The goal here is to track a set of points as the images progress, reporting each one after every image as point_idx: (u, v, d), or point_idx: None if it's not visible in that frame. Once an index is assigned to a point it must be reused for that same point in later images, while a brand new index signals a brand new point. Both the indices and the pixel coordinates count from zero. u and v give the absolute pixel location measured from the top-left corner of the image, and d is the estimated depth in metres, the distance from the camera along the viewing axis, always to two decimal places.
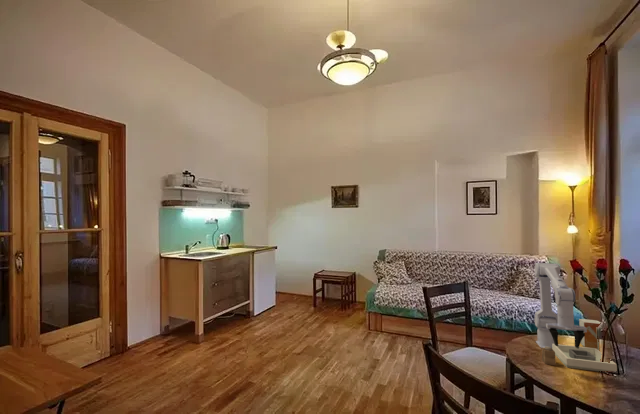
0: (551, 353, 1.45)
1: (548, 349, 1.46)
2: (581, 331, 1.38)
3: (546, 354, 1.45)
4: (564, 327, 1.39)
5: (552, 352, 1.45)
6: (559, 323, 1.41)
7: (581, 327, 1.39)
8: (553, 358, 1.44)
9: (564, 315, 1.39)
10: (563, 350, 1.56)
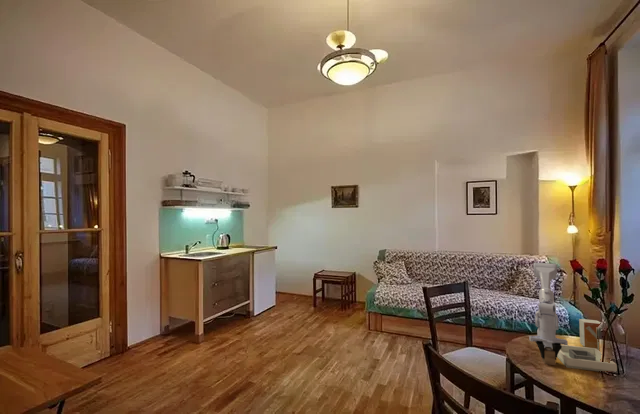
0: (551, 353, 1.45)
1: (548, 349, 1.46)
2: None
3: (546, 354, 1.45)
4: (546, 340, 1.45)
5: (552, 352, 1.45)
6: (541, 336, 1.47)
7: (562, 340, 1.45)
8: (553, 358, 1.44)
9: (544, 328, 1.46)
10: (563, 350, 1.56)
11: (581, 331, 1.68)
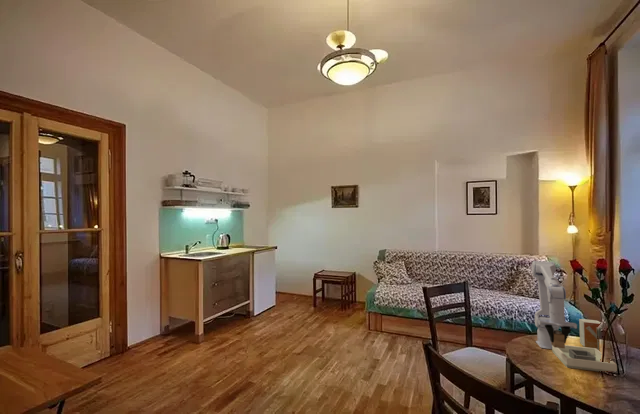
0: (560, 336, 1.45)
1: (557, 332, 1.46)
2: (572, 327, 1.45)
3: (555, 337, 1.46)
4: (555, 323, 1.46)
5: (561, 335, 1.45)
6: (551, 320, 1.48)
7: (572, 323, 1.46)
8: (562, 341, 1.45)
9: (555, 312, 1.46)
10: (563, 350, 1.56)
11: (581, 331, 1.68)
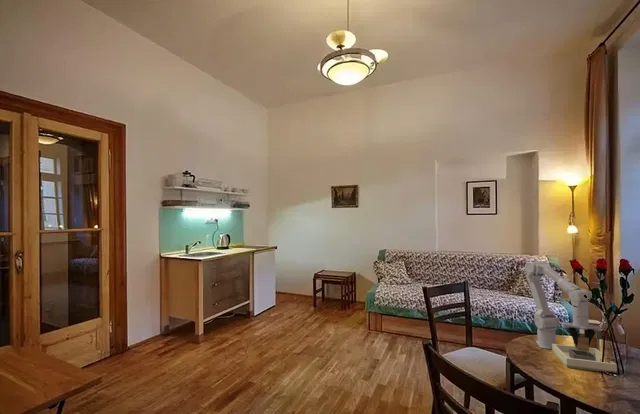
0: (584, 339, 1.46)
1: (581, 335, 1.47)
2: (596, 330, 1.45)
3: (579, 340, 1.46)
4: (579, 326, 1.46)
5: (585, 338, 1.46)
6: (574, 322, 1.48)
7: (595, 326, 1.46)
8: (587, 344, 1.45)
9: (583, 315, 1.46)
10: (563, 350, 1.56)
11: (581, 331, 1.68)
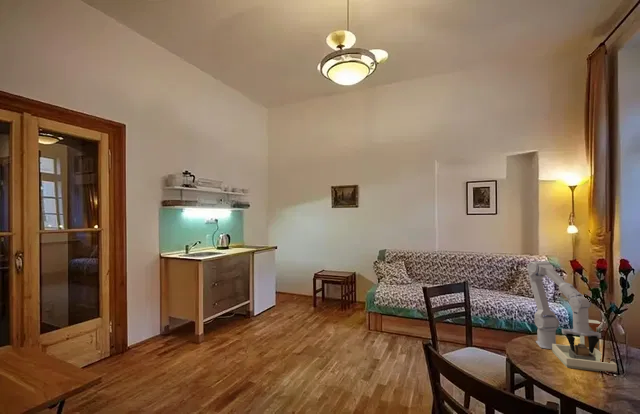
0: (585, 350, 1.45)
1: (582, 346, 1.47)
2: (596, 337, 1.45)
3: (579, 351, 1.46)
4: (580, 333, 1.46)
5: (586, 349, 1.45)
6: (575, 329, 1.48)
7: (596, 333, 1.46)
8: (587, 355, 1.45)
9: (584, 322, 1.45)
10: (563, 350, 1.56)
11: None
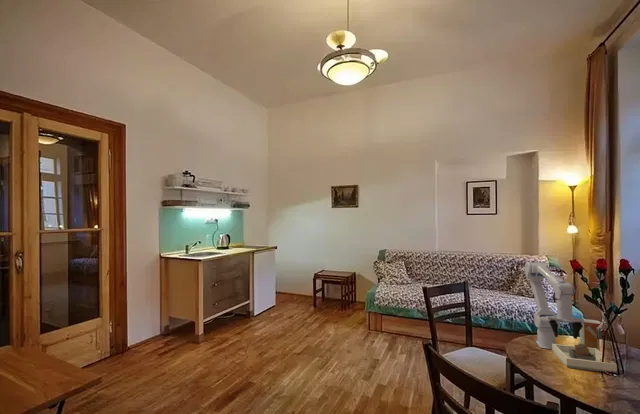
0: (585, 350, 1.45)
1: (582, 346, 1.47)
2: (579, 323, 1.48)
3: (579, 351, 1.46)
4: (563, 319, 1.49)
5: (586, 349, 1.45)
6: (559, 316, 1.51)
7: (579, 319, 1.49)
8: (587, 355, 1.45)
9: (565, 308, 1.48)
10: (563, 350, 1.56)
11: (581, 331, 1.68)
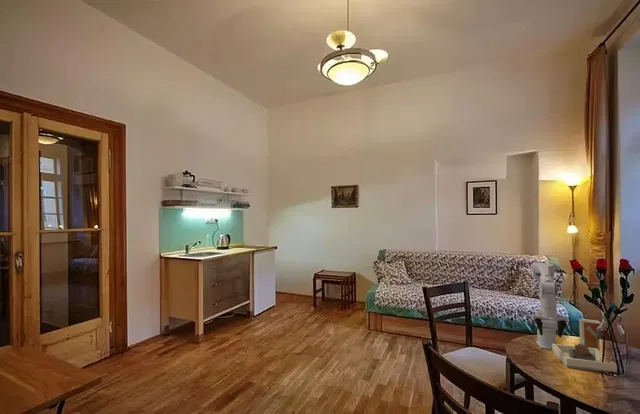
0: (585, 350, 1.45)
1: (582, 346, 1.47)
2: (563, 321, 1.50)
3: (579, 351, 1.46)
4: (548, 317, 1.51)
5: (586, 349, 1.45)
6: (543, 314, 1.53)
7: (563, 318, 1.51)
8: (587, 355, 1.45)
9: (547, 306, 1.52)
10: (563, 350, 1.56)
11: (581, 331, 1.68)
